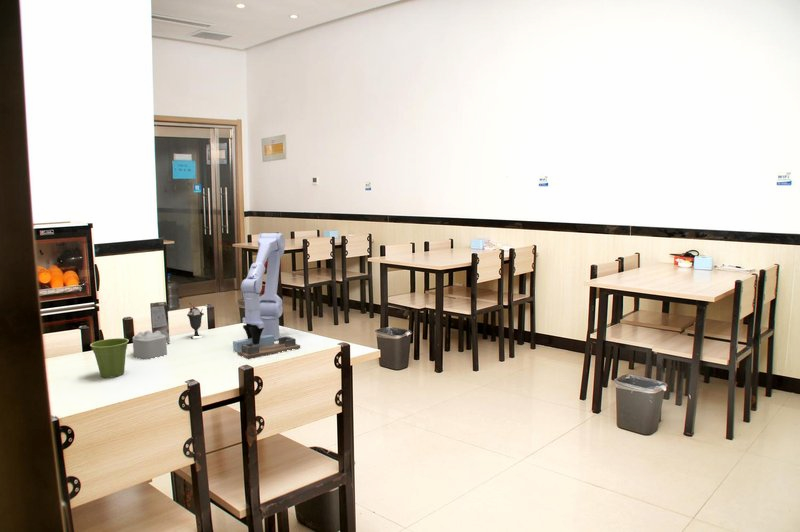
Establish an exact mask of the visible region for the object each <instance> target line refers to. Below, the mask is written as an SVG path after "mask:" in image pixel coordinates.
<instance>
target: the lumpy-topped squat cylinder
mask: <svg viewBox="0 0 800 532" xmlns="http://www.w3.org/2000/svg"><path fill="white" fill-rule="evenodd" d="M167 345H168V344H166V336H165V335H163V334H161V332H160V331H155V332H154V333H152V331H150V330H146V331H144V332H142V331H140V332H138V333H137V334H135V335H134V336H132V348H133V350H132V351H133V352H132V353H133V357H134V358H136V357H137V358H136V359H139V358H140V359H139V360H151V358H153V359H156V358H155V357H157V358H161V357H160V356H162V357H165V356H164V355H166V356H167V355H168V349H167Z"/></svg>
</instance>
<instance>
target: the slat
mask: <svg viewBox="0 0 800 532" xmlns="http://www.w3.org/2000/svg"><path fill="white" fill-rule="evenodd" d="M249 343H253V341H252V338H249V339H248V338H244V339H237V340H233V341H232V349H233V350H232V351H233V352H234V351H235V353H237V351H241V350H242V345H243V344H249ZM272 344H275V340H274V336H273V335H266V336H260V341H259V344H256V345H254V344H253V346H259V347H261V346H267V345H272Z"/></svg>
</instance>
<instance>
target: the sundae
mask: <svg viewBox="0 0 800 532" xmlns="http://www.w3.org/2000/svg"><path fill="white" fill-rule="evenodd" d="M188 304H189V305H190V306H191V307H189V310H188V312H187V314H186V316H187V317H188V319H189V324H190V328H192V329H193V330H194V334H193V336H200V334H199V331H198V330H199V329H200V328H201V327H202V326H201V325H202V317H203V316H204V315H205V314H204V312H203V310H204V309H203V308H202V309H201V310H200V309H199V308H198V307H196V306H194V305H193V304H192V303H191V302H190V303H189V302H188Z"/></svg>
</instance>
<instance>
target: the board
mask: <svg viewBox="0 0 800 532" xmlns="http://www.w3.org/2000/svg"><path fill="white" fill-rule="evenodd" d="M297 348H300V349H301V345H300V344H298V343H297V340H296V338H294V337H290V336H287V335H286V336H281V338H278V343H274V344H272V345H267V346H261V347H259V346H253V343H249V344H243V345H242V350H241V351H237V352H236V354H237V355H238V356H239V357H240V356H241V357H242V356H243V357H242V358H245V359H246V360H247V359H248V360H251V359H255V358H261V357H266V356H270V354H271V355H275V354H274V353H276V354H279V353H278V352H280V353H283V352H282V351H285V352H288V351H287V350H290V351H293V350H292V349H295V350H298V349H297Z"/></svg>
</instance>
